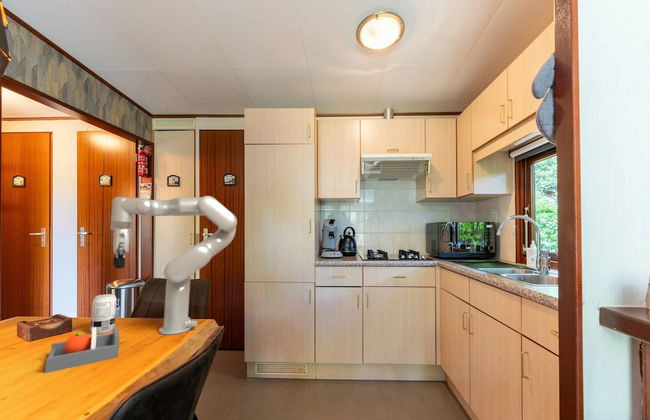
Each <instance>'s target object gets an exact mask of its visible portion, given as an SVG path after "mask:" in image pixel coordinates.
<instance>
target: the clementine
mask: <svg viewBox="0 0 650 420" xmlns="http://www.w3.org/2000/svg"><path fill="white" fill-rule="evenodd" d="M90 337H91V336H90V335H89V333H88V332H86V331H83V332H78V333H76V334H72V335H71V336H70V337H69V338H68V339H67V340H65V341H66V343H65V345H64V350H65V352H66V353H67V354H70V353H75V352H80V351H85V350H87V349H88V348H89V347H90V344H91V339H90Z"/></svg>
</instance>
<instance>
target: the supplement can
mask: <svg viewBox="0 0 650 420" xmlns="http://www.w3.org/2000/svg"><path fill="white" fill-rule="evenodd" d="M117 300H118V298H117V296H116V294H112V293H107V294H99V295H96V296H94V298H93V300H92V303H91V304H92V306H91V318H90V326H89V327H90V329H89V332H90V333H91V334H92V328H93V327H96V335H105V334H109V333H110V332H113V327H115V326H116V315H117V314H116V313H117Z"/></svg>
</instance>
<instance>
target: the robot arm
mask: <svg viewBox="0 0 650 420" xmlns="http://www.w3.org/2000/svg"><path fill="white" fill-rule="evenodd" d="M134 215H140V216H144V217H161V216H162V217H163V216H174V217H178V216H179V217H182V216H185V217H186V216H192V217H193V216H205V217H206V218H207V219H209V221H211V222H212V223H213V224H214V225H216V226H217V227H218V228H217V230H216V231H215V232H214V233H213V234H211V235H209V236H208V237H207V238H206V239H204V240H202V241H201V242H199V243H197V244H194V245H193V246H192V247H190V248H189V249H188V250H186V251H185V252H183V253H182V254H180V255H179V256H177V257H176V258H174V259H172V260H170V262H168V263H167V264H166V266H165V267H164V271H163V275H164V278H165V279H166V284H165V299H164V314H163V326H161V327H160V328H159V329H158V332H159V334H161V335H177V334H183V333H185V332H188V331H190V330H191V329H192V327H197V325H198V321H197V320H196V319H195V320H191V317H189V305H190V290H191V277H192V275H193V274H195V273H196V272H198V271H199V270H201V269H202V268H203V267H205V266H206V265H207V264H208V263H210V261H211V259H212V258H213V257H214V256H216V255H217V254H219V253H220V252H221V251H222V250H223V249H225V248H227V247H228V246H229V244H231V242H232V241H233V240H234V237H235V236H236V231H237V225H238V219H237V217H236V215H235V214H234V213H233V212H231V211H230V210H229V209H228V208H226V207H225V206H224V205H223V204H222V203H221V202H220V201H218V200H217V199H216V198H215V197H213V196H210V195H204V196H202V197H187V196H184V197H183V196H181V197H175V198H172V199H149V198H146V197H135V198H134V197H125V196H123V197H122V196H118V197H117V196H116V197H114V198H113V200H112V205H111V218H110V230H111V231H112V230H113V239H112V241H113V243H112V245H113V246H112V247H113V248H112V249H113V253H114V256H113V265H112V266H114V268H115V269H116V270H117V269H124V268H125V266H126V265H125V264H126V258H125V257H126V256H125V255H126V254H128V253H129V252H130V251H129V249H130V231H132V230H133V227H134V226H133V225H134V224H133V222H134ZM125 253H126V254H125Z"/></svg>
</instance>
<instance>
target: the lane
mask: <svg viewBox="0 0 650 420" xmlns="http://www.w3.org/2000/svg"><path fill="white" fill-rule="evenodd" d="M89 337H90V339H91V336H89ZM66 341H67V340H65V341H61V342H60V341H59V342H54V343H52V344H51V349H50V352H49V354H48V357H46V360H45V361H46V362H45V370H44V373H45V374H46V373H51V372H55V371H61V370H65V369H70V368H74V367H79V366H83V365H88V364H92V363H98V362H102V361H107V360H111V359H117V358H119V353H120V351H119V350H120V332H119V326H118V325H115V327H113V330H112V332H111V333H105V334H99V335H96V348H95V349H91V350H90V347H91V344H90V347H89V348H88V349H87V350H85V351H80V352H75V353H70V354H67V353H66V352H65V350H64V345H65V343H66Z"/></svg>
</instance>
